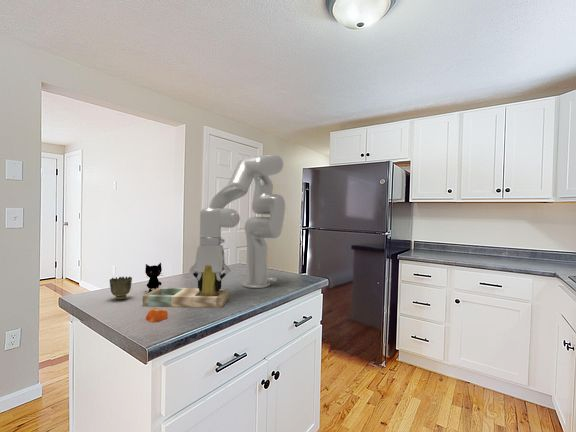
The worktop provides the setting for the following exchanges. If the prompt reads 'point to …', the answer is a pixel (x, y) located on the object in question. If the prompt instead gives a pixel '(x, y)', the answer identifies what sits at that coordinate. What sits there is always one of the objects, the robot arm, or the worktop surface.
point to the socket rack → (184, 298)
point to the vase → (209, 282)
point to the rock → (156, 315)
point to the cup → (120, 287)
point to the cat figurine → (153, 276)
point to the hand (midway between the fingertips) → (209, 290)
